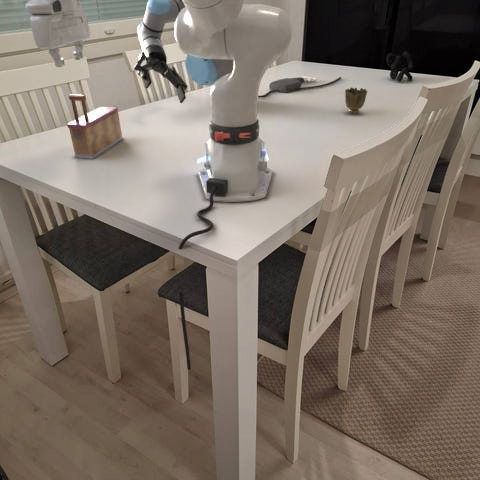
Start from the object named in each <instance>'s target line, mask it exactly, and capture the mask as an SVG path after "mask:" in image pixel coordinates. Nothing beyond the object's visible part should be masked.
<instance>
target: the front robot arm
mask: <svg viewBox="0 0 480 480" xmlns="http://www.w3.org/2000/svg"><path fill="white" fill-rule="evenodd" d="M244 1H245V0H182V2H183V3H184V5H185V8H183V9H182V10H181V11H180V13H179V14H178V16H177V18H176V21H175V22H174V27H173V30H174V33H173V34H174V38H175V42H176V44H177V45H178V48H179V49H180V51H181V52H182V53H183V54H185V55H186V56H187V55H191V56H195V57H199V58H203V59H227V60H234V67H233V71H232V72H231V73H229V74H227V75H225V76H223V77H221V78H220V79H218V80H217V81H215V82H214V84H211V86H210V90H209V102H210V103H209V105H210V106H209V107H210V120H209V126H208V129H209V139H208V140H207V141H206V142H205V143H204V144H205V145H204V148H205V149H204V150H205V152H204V153H205V156H202V157H200V158H198V159H197V160H196V163H197V164H200V163H203V162H204V164H203V165H204V168H203V169H201V170H199V171H198V178H199V181H200V185H201V187H202V190H203V193H204V196H205V199H206V200H209V205H208V206H207V207H205V208H202V209H200V210H198V211H197V217H198V219H200V220H201V221H203V222H205V223H207V224H208V227H206V228H204V229H199V230H196V231H193V232H191V233H189V234H187V235H186V236H185V237H184V238H183V239H182V240H181V241H180V243H179V244H178V245H179V246H178V250H182V249H183V248H184V246H185V244H186V243H187V242H188V241H189V240H190V239H191V238H193V237H196V236H199V235H203V234H206V233H209V232H210V231H211V230H212V229H213V227H214V223H213V222H212V221H211V220H210V219H208V218H206V217H205V216H203V215H202V214H203V213H207V212H208V211H210V210H212V209H213V206H214V202H222V203H223V202H225V203H240V202H253V201H257V200H261V199H264V198H266V196H267V193H268V190H269V187H270V186H269V185H270V183H271V180H272V177H273V170H272V169H271V168H269V167H268V161H269V156H268V154H267V151H266V149H265V141H263V140H262V138H260V121H259V118H258V103H259V97H258V96H259V91H260V85H261V82H262V79H263V77H264V75H265V73H266V72H267V70H268V69H269V68H270V66H272V64H273V63H274V62H275V61H276V60H278V59H279V58H280V57H282V56H283V55H284V54H285V52H286V51H287V49H288V47H289V45H290V43H291V39H292V24H291V21H290V18H289V16H288V14H287V12H285V10H284V9H283V8H280V7H276V6H273V5H270V4H269V5H268V4H264V3H244ZM25 8H26V12H27V14H29V15H30V17H29V23H30V28H31V32H32V36H33V40H34V44H35V46H36V47H37V48H38V49H39V50H43V51H44V50H48V53H49V55H50V56H51V58H52V60H53V61H54V66H55V67H56V68H62V67H65V64H66V63H65V59H64V58H63V57H61V55H60V52H61V50H60V48H62V47H64V46H68V45H71V44H73V46H74V52H73V57H74V60H76V61H81V60H83V59H84V54H83V52H84V40H87V39H89V38H90V36H91V31H90V27H89V22H88V19H87V15H86V12H85V10H84V9H83V8H82V5H81V4H80V2H79V1H78V0H29V1H27V2H26V3H25ZM265 159H266V160H265ZM184 300H185V299H184V293H183V292H182V291H181V290H179V308H180V318H181V319H180V320H181V327H182V334H183V341H184V343H183V344H184V350H185V357H186V358H185V359H186V368H187V370H188V371H191V369H192V367H191V357H190V348H189V340H188V331H187V323H186V314H185V301H184Z"/></svg>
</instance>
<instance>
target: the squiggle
mask: <svg viewBox="0 0 480 480" xmlns="http://www.w3.org/2000/svg"><path fill="white" fill-rule="evenodd" d="M401 57H402V59H401ZM391 59H392V60H391ZM393 60H394V61H393ZM385 61H386V64H387V67H390V68H391V70H390V72H389V78H390V79H391V80H395V79H396V81H397V82H399V83H400V82H402V81H403V79H404V76H406V78H407V80H408V81H412V80H413V79H414V77H413V75H412V74H411V73H410V72H409V71H410V70H412V69H413V68H414V64H413V61H412V57H411V54H410V53H409V52H408V51H403V53H402V54H401V55H396V54H394V53H392V52H390V53H387V55H386V57H385ZM406 62H407V65H408V66H407V67H405V66H404V65H405V64H406ZM400 70H401V71H400Z"/></svg>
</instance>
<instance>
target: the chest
mask: <svg viewBox="0 0 480 480" xmlns="http://www.w3.org/2000/svg"><path fill="white" fill-rule="evenodd" d="M68 131H69V134H70V138H71V143H72V147H73V152H74V157H75V158H80V159H88V160H89V159H90V160H94V159H95V158H96V157H98V156H100V155H101V154H102V153H104V152H106V150H108V149H110V148H112V147H113V146H114V145H116V144H117V143H120V142H121V141H122V140H123V139H124V137H123V133H122V128H121V122H120V114H119V110H118V111H117V112H115V113H114V114H112V115H110V116H108V117H106V118H105V119H103V120H101V121H99V122H97V123H95V124H94V125H92V126H90V127H88V128H86V129H78V128H68Z"/></svg>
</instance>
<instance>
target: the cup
mask: <svg viewBox="0 0 480 480" xmlns="http://www.w3.org/2000/svg"><path fill="white" fill-rule="evenodd" d="M367 94H368V90H367V88H363V87H361V88H360V89H358V88H357V87H355V88H354V87H350V88H346V89H345V90H344V95H345V96H344V97H345V99H344V100H345V101H344V102H345V105H346V108H347V109H348V113H349V114H352V115H356V114H359V113H360V109H362V107H364V105H365V102H366V99H367V98H366V97H367Z"/></svg>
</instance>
